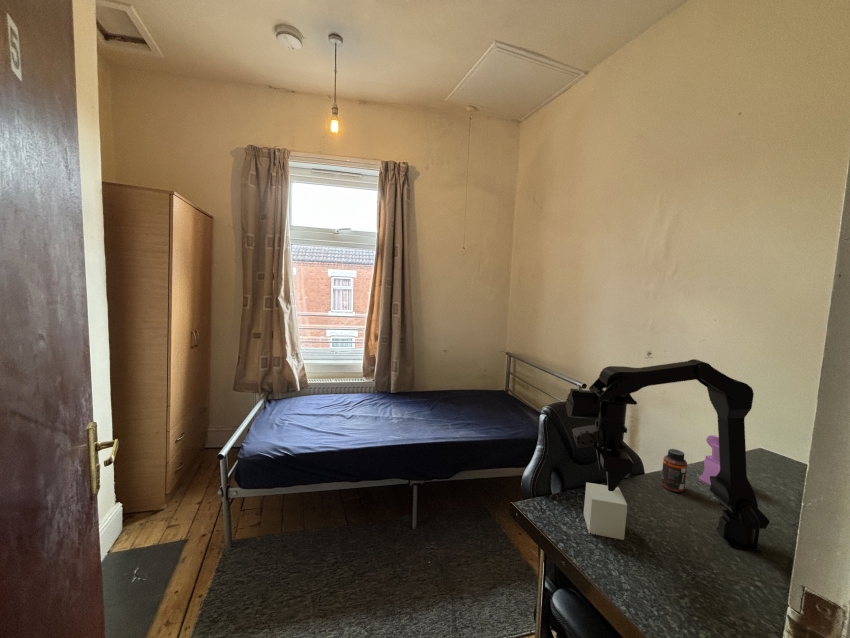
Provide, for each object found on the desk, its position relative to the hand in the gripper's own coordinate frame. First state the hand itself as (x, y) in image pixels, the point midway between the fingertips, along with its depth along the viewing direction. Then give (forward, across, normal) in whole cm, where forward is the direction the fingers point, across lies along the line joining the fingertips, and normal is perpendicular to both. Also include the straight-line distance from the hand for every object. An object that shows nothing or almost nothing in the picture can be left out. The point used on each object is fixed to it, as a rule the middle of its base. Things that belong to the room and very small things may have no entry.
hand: (606, 480), depth 90 cm
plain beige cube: (+12, 0, 0) cm, 12 cm away
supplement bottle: (+12, -26, +25) cm, 38 cm away
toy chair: (+12, -34, +41) cm, 55 cm away
